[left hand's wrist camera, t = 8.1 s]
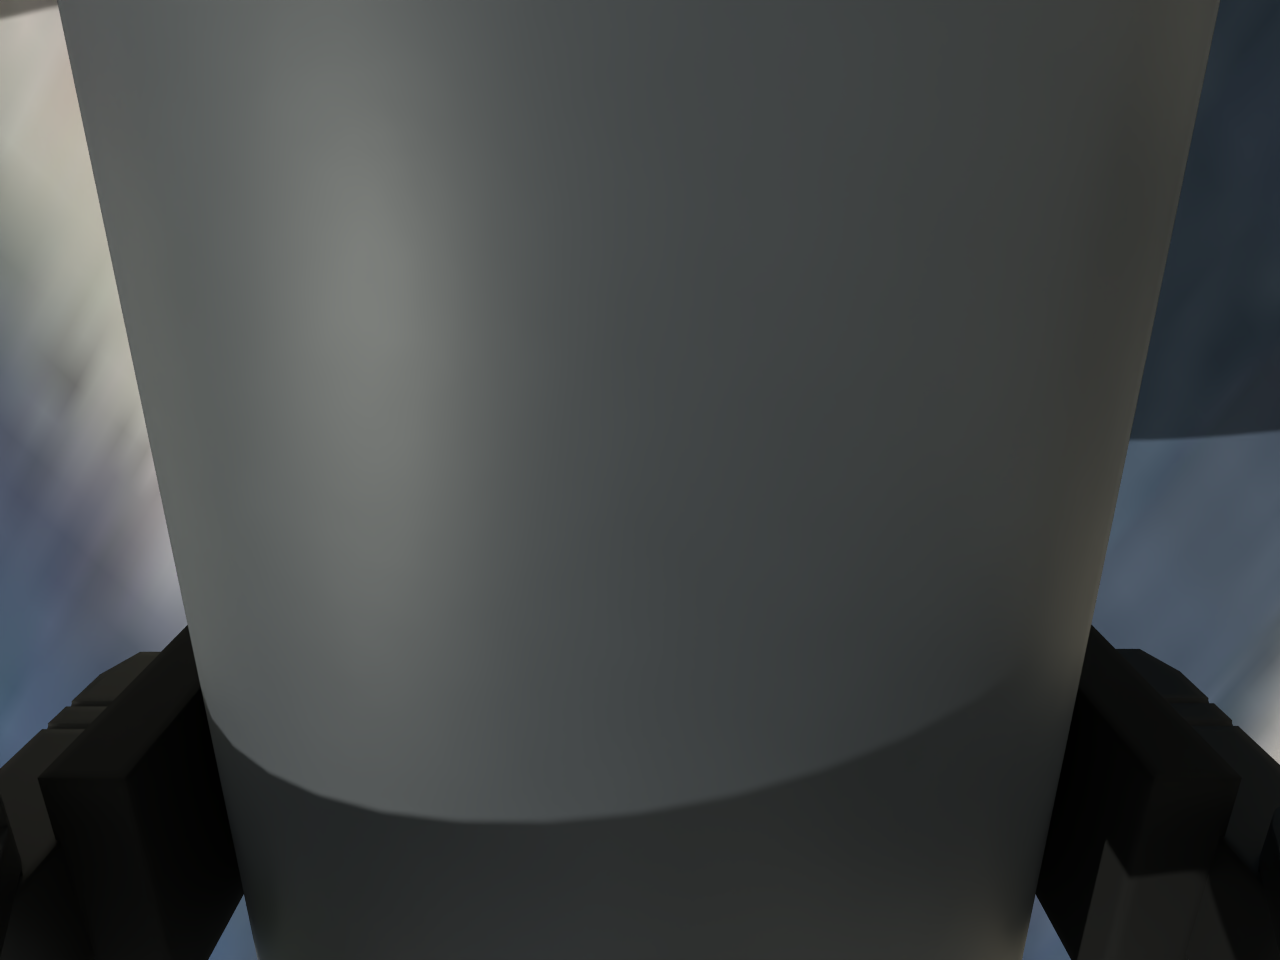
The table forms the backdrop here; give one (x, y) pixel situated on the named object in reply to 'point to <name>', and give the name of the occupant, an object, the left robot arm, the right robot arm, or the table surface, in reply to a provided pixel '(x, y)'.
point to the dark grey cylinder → (639, 446)
